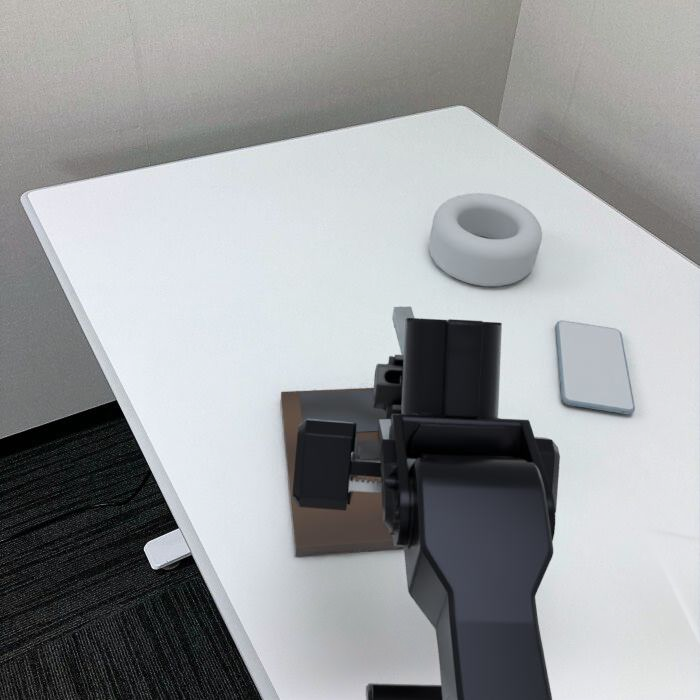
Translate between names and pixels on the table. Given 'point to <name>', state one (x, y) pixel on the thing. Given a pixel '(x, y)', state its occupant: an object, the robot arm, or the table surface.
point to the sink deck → (365, 508)
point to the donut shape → (485, 239)
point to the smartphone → (593, 367)
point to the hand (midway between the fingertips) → (412, 459)
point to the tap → (399, 326)
